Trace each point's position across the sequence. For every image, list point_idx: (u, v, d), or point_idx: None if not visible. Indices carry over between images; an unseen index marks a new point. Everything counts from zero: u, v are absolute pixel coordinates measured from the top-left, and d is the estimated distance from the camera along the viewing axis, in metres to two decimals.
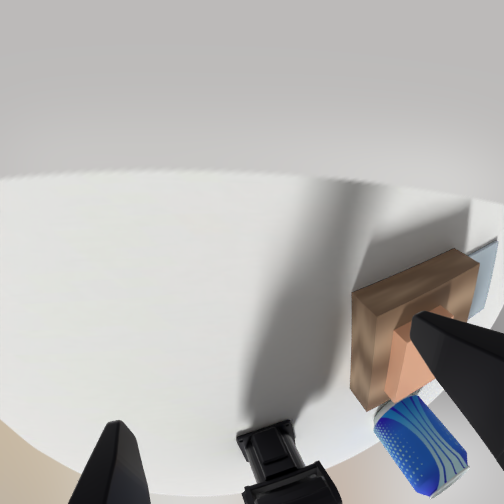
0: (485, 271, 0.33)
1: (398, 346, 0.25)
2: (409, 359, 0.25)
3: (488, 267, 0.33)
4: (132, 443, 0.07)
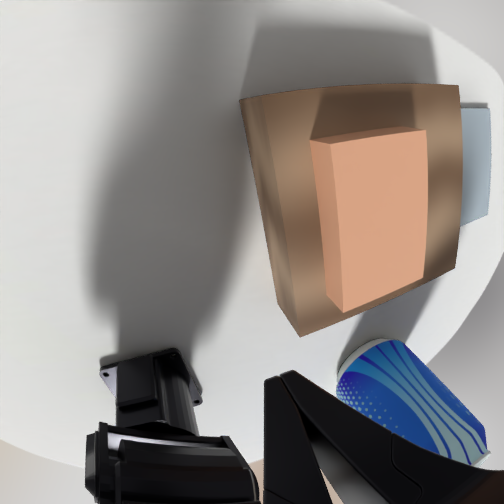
0: (480, 147, 0.23)
1: (322, 167, 0.14)
2: (350, 196, 0.14)
3: (482, 143, 0.22)
4: None
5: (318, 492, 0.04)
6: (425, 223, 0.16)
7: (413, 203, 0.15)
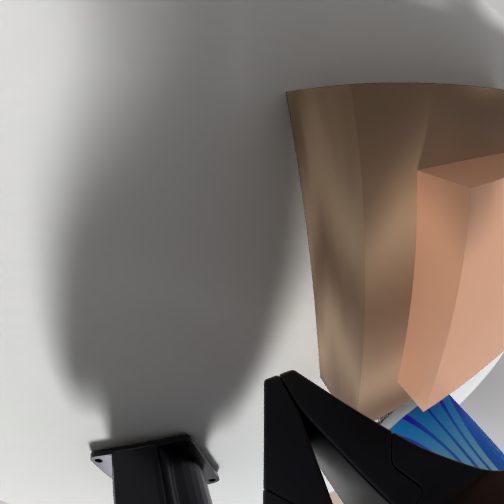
0: None
1: (440, 221, 0.08)
2: (475, 270, 0.07)
3: None
4: None
5: (318, 492, 0.04)
6: None
7: None
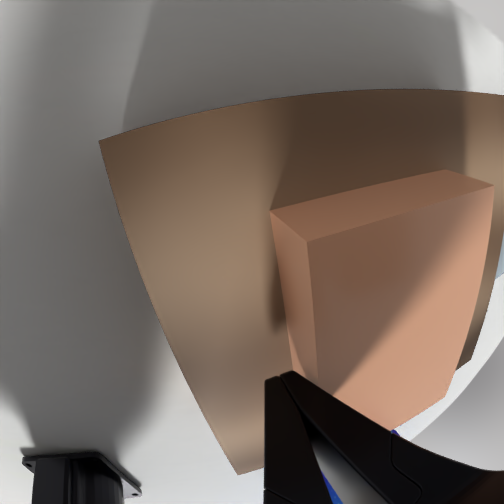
0: None
1: (292, 275, 0.07)
2: (344, 335, 0.07)
3: None
4: None
5: (318, 492, 0.04)
6: (465, 335, 0.09)
7: (455, 314, 0.08)
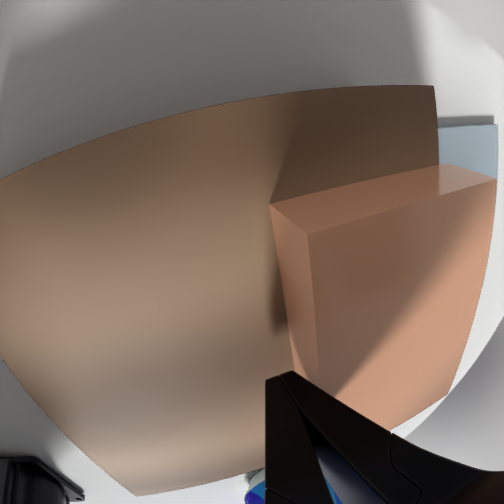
0: None
1: (292, 269, 0.07)
2: (346, 330, 0.07)
3: None
4: None
5: (319, 491, 0.04)
6: (468, 331, 0.09)
7: (458, 310, 0.08)
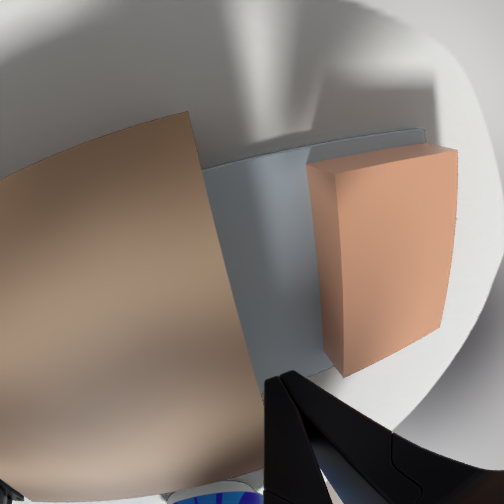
0: None
1: None
2: None
3: None
4: None
5: (318, 492, 0.04)
6: None
7: None
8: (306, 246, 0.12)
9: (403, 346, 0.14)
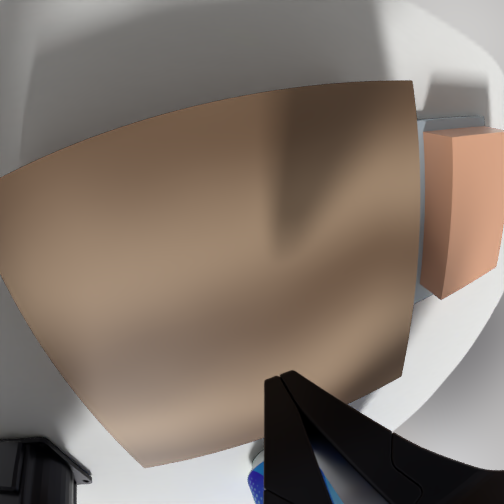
0: None
1: None
2: None
3: None
4: None
5: (318, 492, 0.04)
6: None
7: None
8: (420, 192, 0.15)
9: (475, 278, 0.16)
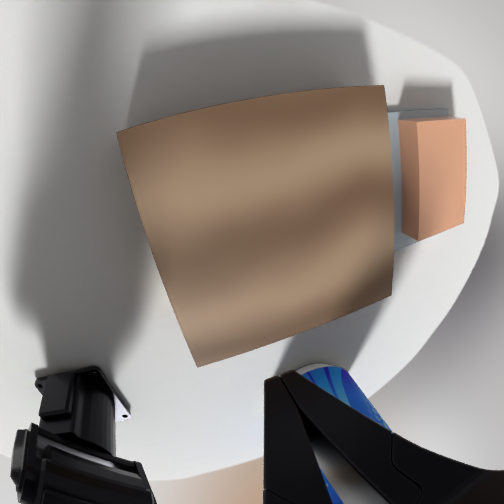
0: None
1: None
2: None
3: None
4: None
5: (318, 492, 0.04)
6: (403, 187, 0.22)
7: None
8: (397, 161, 0.21)
9: (445, 229, 0.23)
